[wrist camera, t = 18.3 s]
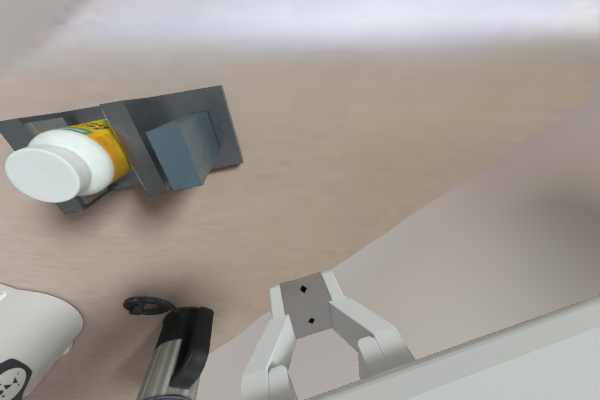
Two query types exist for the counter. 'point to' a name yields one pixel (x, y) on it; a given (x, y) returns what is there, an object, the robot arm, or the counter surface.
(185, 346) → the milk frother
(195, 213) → the counter surface
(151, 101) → the vise base
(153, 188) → the sliding jaw
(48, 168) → the supplement bottle
